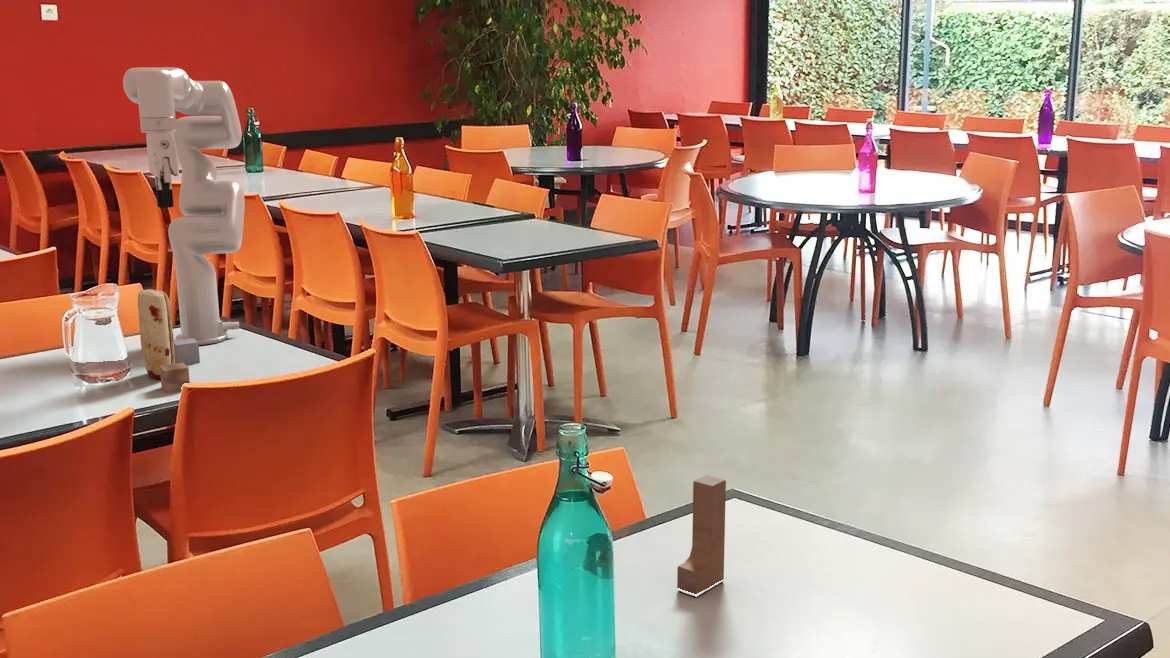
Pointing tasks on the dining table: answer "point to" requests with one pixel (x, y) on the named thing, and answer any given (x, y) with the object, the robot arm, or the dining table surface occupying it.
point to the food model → (155, 330)
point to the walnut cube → (174, 376)
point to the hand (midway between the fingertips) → (165, 207)
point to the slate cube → (186, 351)
